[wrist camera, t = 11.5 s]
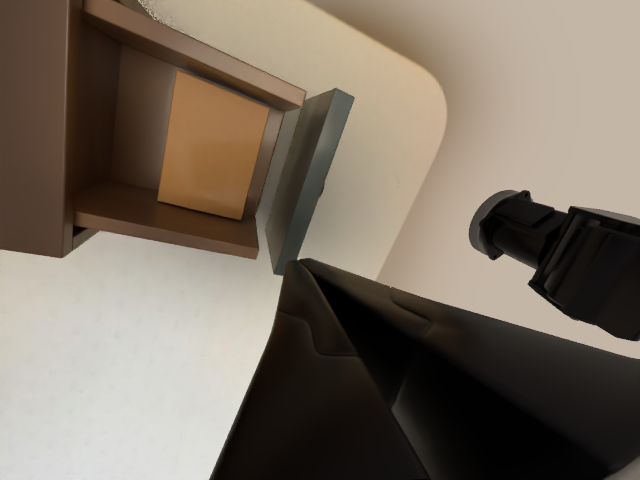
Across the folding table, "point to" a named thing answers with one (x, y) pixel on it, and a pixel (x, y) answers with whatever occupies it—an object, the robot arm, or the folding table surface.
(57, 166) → the cabinet
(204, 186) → the block
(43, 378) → the folding table surface
